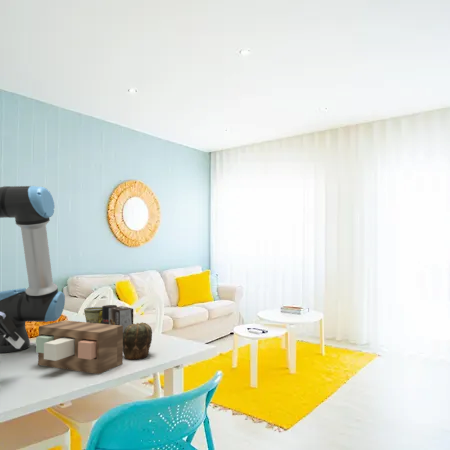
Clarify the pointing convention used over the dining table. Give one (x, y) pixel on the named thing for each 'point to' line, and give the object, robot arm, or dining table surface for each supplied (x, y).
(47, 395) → the dining table surface
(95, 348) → the key terracotta
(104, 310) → the deodorant
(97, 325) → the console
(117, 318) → the coffee box
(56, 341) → the key cream
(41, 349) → the key sage
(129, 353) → the shell
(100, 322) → the ceramic cup
